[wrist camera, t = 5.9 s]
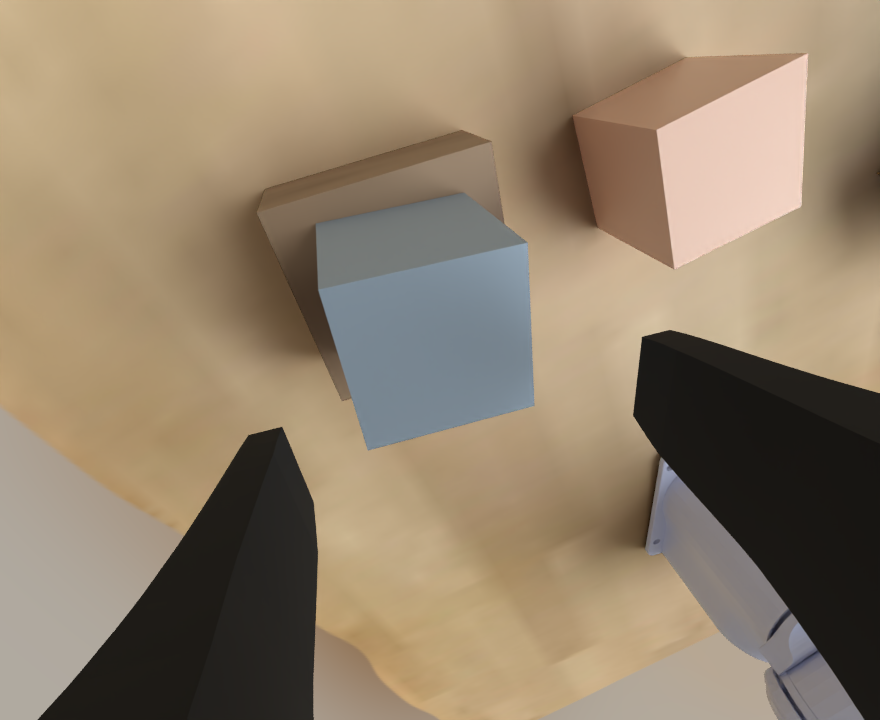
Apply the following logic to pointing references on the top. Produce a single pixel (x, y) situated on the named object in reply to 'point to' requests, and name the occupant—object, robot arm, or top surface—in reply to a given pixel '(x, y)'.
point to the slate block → (427, 315)
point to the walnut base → (366, 190)
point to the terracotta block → (697, 153)
